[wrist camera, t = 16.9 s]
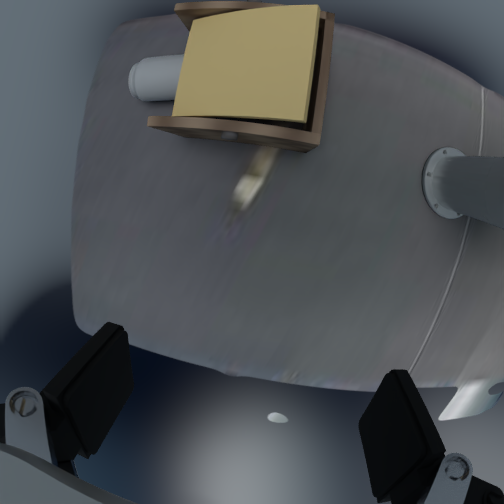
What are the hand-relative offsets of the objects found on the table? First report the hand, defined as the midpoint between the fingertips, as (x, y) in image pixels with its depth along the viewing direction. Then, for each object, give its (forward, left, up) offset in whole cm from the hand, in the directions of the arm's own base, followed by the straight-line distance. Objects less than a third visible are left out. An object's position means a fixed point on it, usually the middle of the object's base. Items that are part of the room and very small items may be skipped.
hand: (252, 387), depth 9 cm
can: (+12, -20, -33) cm, 40 cm away
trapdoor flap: (+6, -19, -23) cm, 30 cm away
